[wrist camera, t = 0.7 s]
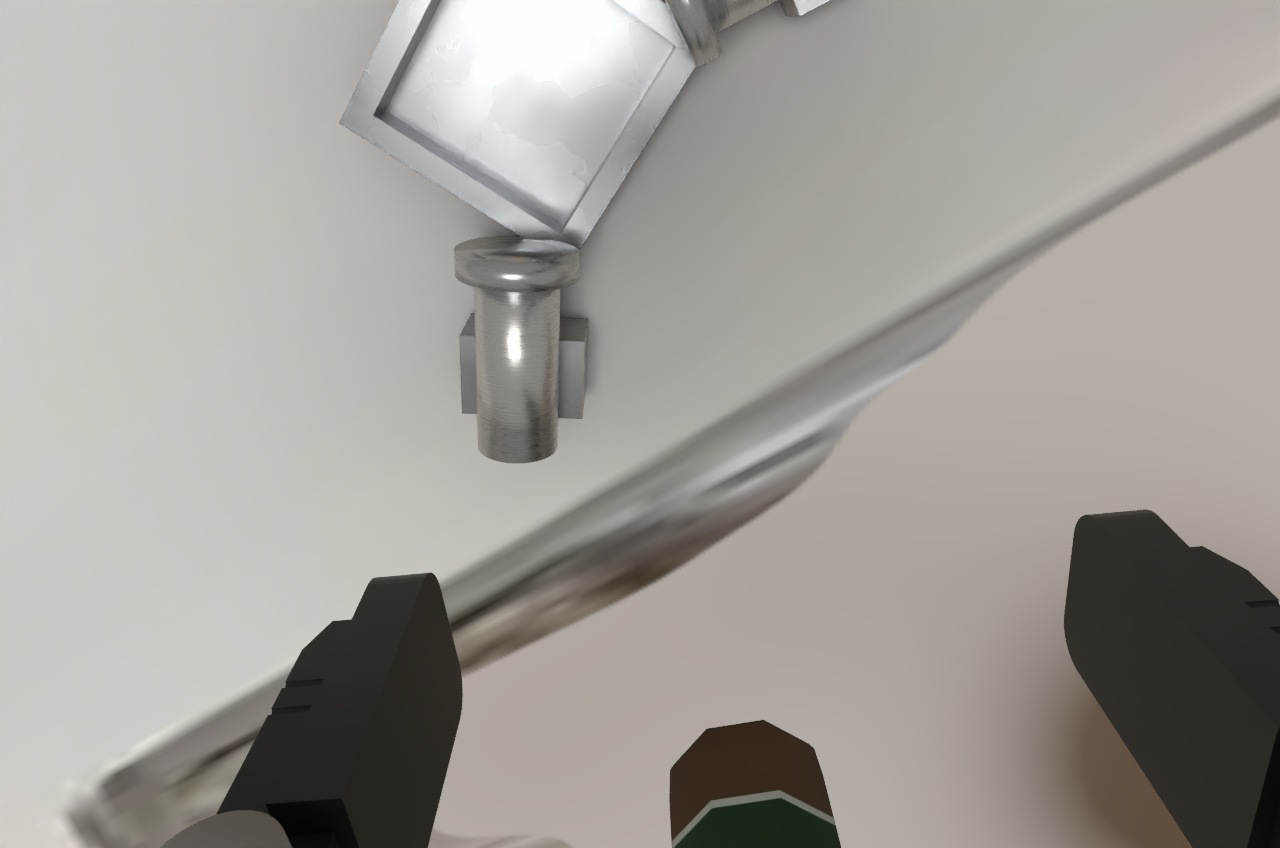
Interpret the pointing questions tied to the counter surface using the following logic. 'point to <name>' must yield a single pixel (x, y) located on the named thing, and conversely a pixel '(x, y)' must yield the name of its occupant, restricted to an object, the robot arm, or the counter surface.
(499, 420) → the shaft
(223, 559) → the counter surface
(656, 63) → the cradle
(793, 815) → the beer bottle
